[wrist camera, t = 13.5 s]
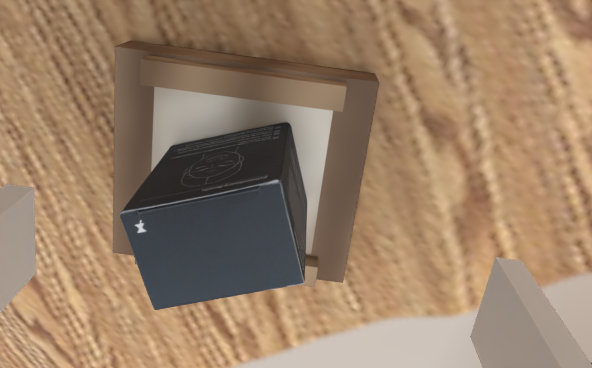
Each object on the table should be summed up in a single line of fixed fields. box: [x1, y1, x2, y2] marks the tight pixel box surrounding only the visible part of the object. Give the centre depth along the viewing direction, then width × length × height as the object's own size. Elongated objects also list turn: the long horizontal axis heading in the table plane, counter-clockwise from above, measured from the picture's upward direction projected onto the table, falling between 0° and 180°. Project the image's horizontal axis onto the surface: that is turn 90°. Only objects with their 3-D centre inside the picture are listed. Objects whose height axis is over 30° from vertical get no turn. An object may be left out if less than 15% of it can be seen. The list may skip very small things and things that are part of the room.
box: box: [120, 122, 307, 310], centre depth 31 cm, size 8×6×11 cm
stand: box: [113, 41, 379, 287], centre depth 37 cm, size 16×14×4 cm
